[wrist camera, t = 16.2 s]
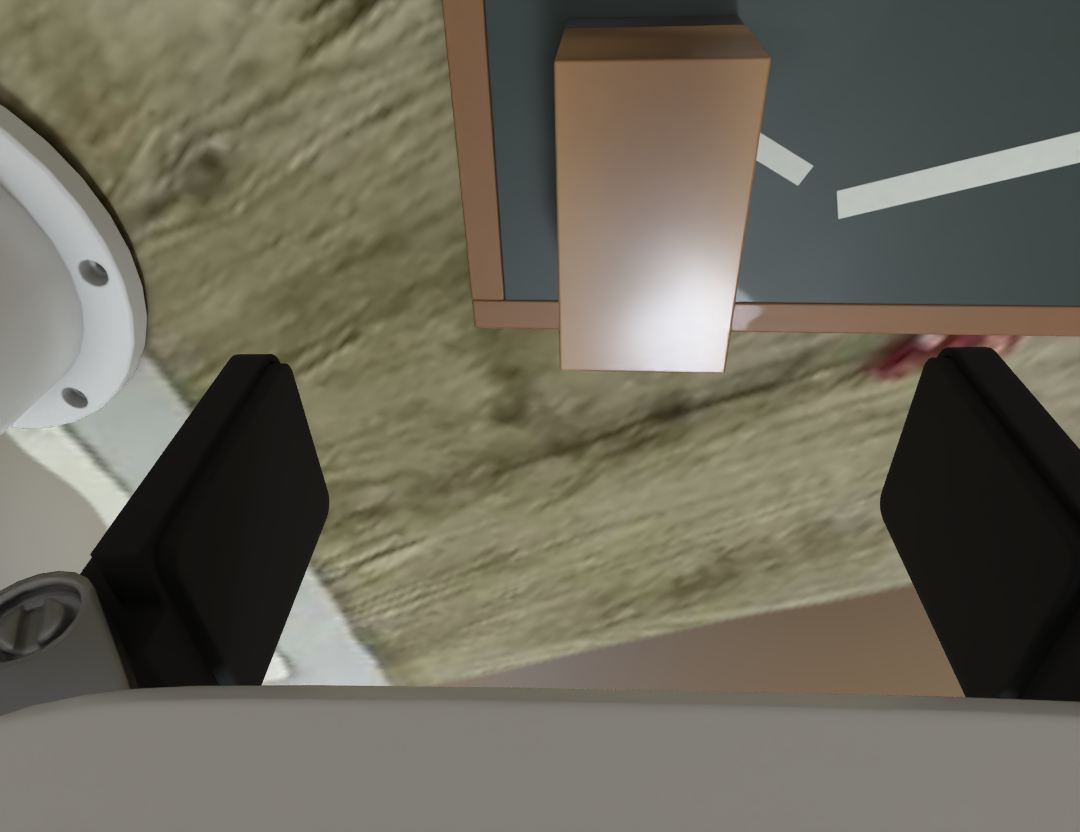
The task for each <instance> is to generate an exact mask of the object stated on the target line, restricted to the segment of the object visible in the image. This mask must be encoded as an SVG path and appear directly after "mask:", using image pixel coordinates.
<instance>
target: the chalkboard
mask: <svg viewBox="0 0 1080 832" xmlns="http://www.w3.org/2000/svg"><path fill="white" fill-rule="evenodd" d="M442 6H443V16H444V26H445V36H446V46H447V56H448V66H449V76H450V86H451V96H452V105H453V115H454V125H455V135H456V145H457V155H458V165H459V175H460V185H461V195H462V205H463V215H464V225H465V235H466V245H467V255H468V264H469V274H470V284H471V294H472V299H473V301H472V303H473V313H474V323H475V327H476V328H522V329H559V300H558V249H557V198H556V147H555V96H554V61H555V58H556V55H557V52H558V48H559V45H560V42H561V39H562V36H563V32H564V29H565V27H566V23H567V21H568V20H569V19H600V18H645V17H690V16H734V15H737V16H739V18H740V19H741V20H742V21H743V23H744V24H745V25H746V26H747V27H748V29H749V30H750V31H751V33H752V34H753V35H754V36H755V38H756V39H757V40H758V42H759V43H760V44H761V46H762V47H763V48H764V50H765V51H766V52H767V53H768V55H769V56H770V57H771V63H770V70H769V77H768V84H767V90H766V97H765V104H764V111H763V117H762V124H761V131H760V138H759V144H758V151H757V158H756V165H755V171H754V178H753V185H752V192H751V199H750V205H749V212H748V219H747V226H746V232H745V239H744V246H743V253H742V259H741V266H740V273H739V280H738V286H737V293H736V300H735V307H734V314H733V320H732V327H731V331H735V332H806V333H877V334H948V335H1019V336H1080V0H442Z"/></svg>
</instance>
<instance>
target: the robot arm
mask: <svg viewBox="0 0 1080 832" xmlns="http://www.w3.org/2000/svg"><path fill="white" fill-rule="evenodd" d="M146 327H147V313H146V306H145V300H144V293H143V287H142V284H141V281H140V278H139V275H138V272H137V270H136V267H135V264H134V261H133V258H132V255H131V253H130V250H129V249H128V247H127V245H126V243H125V241H124V240H123V238H122V236H121V234H120V232H119V230H118V229H117V227H116V225H115V223H114V221H113V220H112V218H111V216H110V214H109V213H108V212H107V210H106V209H105V208H104V206H103V205H102V204H101V202H100V201H99V200H98V198H97V197H96V196H95V194H94V193H93V192H92V190H91V189H90V187H89V186H88V185H87V183H86V182H85V181H84V179H83V178H82V177H81V176H80V175H79V174H78V173H77V172H76V171H75V170H74V169H73V168H72V167H71V166H70V165H69V163H68V162H67V161H66V160H65V159H64V158H63V157H62V156H61V155H60V154H59V153H58V152H57V151H56V150H55V149H54V148H53V147H52V146H51V145H50V144H49V143H48V142H47V141H46V140H45V139H44V138H42V137H41V136H40V135H39V134H37V133H36V132H35V131H34V130H32V129H31V128H30V127H29V126H28V125H26V124H25V123H24V122H23V121H21V120H20V119H19V118H18V117H16V116H15V115H14V114H13V113H11V112H10V111H9V110H8V109H7V108H5V107H4V106H2V105H0V435H1V434H2V433H4V432H5V431H6V430H7V429H8V428H9V427H11V428H21V429H28V428H46V427H55V426H59V425H63V424H67V423H71V422H75V421H79V420H80V419H82V418H84V417H86V416H88V415H90V414H92V413H94V412H96V411H97V410H99V409H101V408H102V407H103V406H104V405H105V404H106V403H107V402H108V401H109V400H110V399H111V398H112V397H113V396H114V395H115V394H116V393H117V392H118V391H119V390H120V389H122V387H123V386H124V385H125V383H126V382H127V381H128V379H129V378H130V377H131V376H132V374H133V373H134V372H135V370H136V369H137V366H138V363H139V361H140V358H141V355H142V353H143V350H144V347H145V339H146ZM328 510H329V495H328V491H327V487H326V484H325V480H324V477H323V474H322V470H321V467H320V463H319V460H318V457H317V453H316V450H315V446H314V443H313V440H312V436H311V433H310V429H309V426H308V423H307V419H306V416H305V412H304V409H303V406H302V402H301V399H300V395H299V392H298V389H297V385H296V382H295V378H294V375H293V372H292V369H291V368H290V366H289V365H288V364H280V361H279V360H278V358H277V357H276V356H275V355H273V354H239V355H234V356H232V357H231V358H230V360H229V361H228V362H227V364H226V365H225V367H224V368H223V369H222V371H221V372H220V374H219V375H218V376H217V378H216V379H215V381H214V382H213V383H212V385H211V386H210V388H209V389H208V390H207V392H206V393H205V395H204V396H203V397H202V399H201V400H200V402H199V403H198V404H197V406H196V407H195V409H194V410H193V411H192V413H191V414H190V416H189V417H188V418H187V420H186V421H185V423H184V424H183V425H182V427H181V428H180V430H179V431H178V432H177V434H176V435H175V437H174V438H173V439H172V441H171V442H170V444H169V445H168V446H167V448H166V449H165V451H164V452H163V453H162V455H161V456H160V458H159V459H158V460H157V462H156V463H155V465H154V466H153V467H152V469H151V470H150V472H149V473H148V474H147V476H146V477H145V478H144V480H143V481H142V483H141V484H140V485H139V487H138V488H137V490H136V491H135V492H134V494H133V495H132V497H131V498H130V499H129V501H128V502H127V504H126V505H125V506H124V508H123V509H122V511H121V512H120V513H119V515H118V516H117V518H116V519H115V520H114V522H113V523H112V525H111V526H110V527H109V529H108V530H107V532H106V533H105V534H104V536H103V537H102V539H101V540H100V542H99V543H98V544H97V546H96V547H95V549H94V550H93V551H92V553H91V556H92V558H91V560H90V561H89V562H88V564H87V565H86V567H85V568H84V569H83V571H82V572H81V574H78V573H75V572H64V571H56V572H49V573H43V574H38V575H35V576H32V577H29V578H26V579H24V580H21V581H18V582H16V583H14V584H12V585H10V586H9V587H7V588H5V589H3V590H1V591H0V832H1080V449H1079V448H1078V447H1077V446H1076V444H1075V443H1074V442H1073V441H1072V440H1071V439H1070V438H1069V436H1068V435H1067V434H1066V433H1065V432H1064V431H1063V429H1062V428H1061V427H1060V426H1059V425H1058V424H1057V422H1056V421H1055V420H1054V419H1053V418H1052V417H1051V415H1050V414H1049V413H1048V412H1047V411H1046V410H1045V408H1044V407H1043V406H1042V405H1041V404H1040V403H1039V401H1038V400H1037V399H1036V398H1035V397H1034V396H1033V395H1032V393H1031V392H1030V391H1029V390H1028V389H1027V388H1026V386H1025V385H1024V384H1023V383H1022V382H1021V381H1020V379H1019V378H1018V377H1017V376H1016V375H1015V374H1014V372H1013V371H1012V370H1011V369H1010V368H1009V367H1008V365H1007V364H1006V363H1005V362H1004V361H1003V360H1002V358H1001V357H1000V356H999V355H998V354H997V353H996V352H995V351H994V350H993V349H992V348H988V347H952V348H945V349H943V350H942V351H941V352H940V353H939V354H938V357H937V358H930V359H928V361H927V362H926V363H925V365H924V368H923V371H922V374H921V377H920V380H919V383H918V386H917V389H916V392H915V395H914V398H913V401H912V404H911V406H910V409H909V412H908V415H907V418H906V421H905V424H904V427H903V430H902V433H901V436H900V439H899V442H898V445H897V448H896V451H895V454H894V457H893V460H892V463H891V466H890V469H889V472H888V475H887V478H886V481H885V484H884V487H883V490H882V493H881V498H880V510H881V515H882V518H883V520H884V523H885V525H886V527H887V529H888V531H889V533H890V535H891V538H892V540H893V542H894V544H895V546H896V548H897V551H898V553H899V555H900V557H901V559H902V561H903V563H904V566H905V568H906V570H907V572H908V574H909V576H910V578H911V581H912V583H913V585H914V587H915V589H916V591H917V593H918V596H919V598H920V600H921V602H922V604H923V606H924V609H925V611H926V613H927V615H928V617H929V619H930V621H931V624H932V626H933V628H934V630H935V632H936V634H937V636H938V639H939V641H940V643H941V645H942V647H943V649H944V651H945V654H946V656H947V658H948V660H949V662H950V664H951V666H952V669H953V671H954V673H955V675H956V677H957V679H958V681H959V683H960V686H961V688H962V690H963V692H964V694H965V697H941V696H898V695H854V694H811V693H810V694H809V693H767V692H719V691H718V692H717V691H665V690H662V691H661V690H609V689H607V690H606V689H551V688H550V689H547V688H486V687H485V688H484V687H482V688H481V687H407V686H327V685H280V686H261V685H262V682H263V680H264V677H265V675H266V672H267V669H268V667H269V664H270V662H271V659H272V657H273V654H274V652H275V649H276V646H277V644H278V641H279V639H280V636H281V634H282V631H283V628H284V626H285V623H286V621H287V618H288V616H289V613H290V611H291V608H292V605H293V603H294V600H295V598H296V595H297V593H298V590H299V587H300V585H301V582H302V580H303V577H304V575H305V572H306V570H307V567H308V564H309V562H310V559H311V557H312V554H313V552H314V549H315V547H316V544H317V541H318V539H319V536H320V534H321V531H322V529H323V526H324V523H325V521H326V518H327V515H328Z"/></svg>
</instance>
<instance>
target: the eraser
mask: <svg viewBox="0 0 1080 832" xmlns="http://www.w3.org/2000/svg"><path fill="white" fill-rule="evenodd" d="M770 63H771V57H770V56H769V55H768V53H767V52H766V51H765V50H764V48H763V47H762V46H761V44H760V43H759V42H758V40H757V39H756V38H755V36H754V35H753V34H752V33H751V31H750V30H749V29H748V27H747V26H746V25H745V24H744V23H743V21H742V20H741V19H740V18H739V16H737V15H734V16H690V17H645V18H600V19H569V20H568V21H567V23H566V27H565V29H564V32H563V36H562V39H561V42H560V45H559V48H558V52H557V55H556V58H555V61H554V96H555V147H556V198H557V249H558V300H559V351H560V369H561V370H583V371H633V372H683V373H724V372H725V368H726V361H727V354H728V347H729V341H730V334H731V327H732V320H733V314H734V307H735V300H736V293H737V286H738V280H739V273H740V266H741V259H742V253H743V246H744V239H745V232H746V226H747V219H748V212H749V205H750V199H751V192H752V185H753V178H754V171H755V165H756V158H757V151H758V144H759V138H760V131H761V124H762V117H763V111H764V104H765V97H766V90H767V84H768V77H769V70H770Z"/></svg>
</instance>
